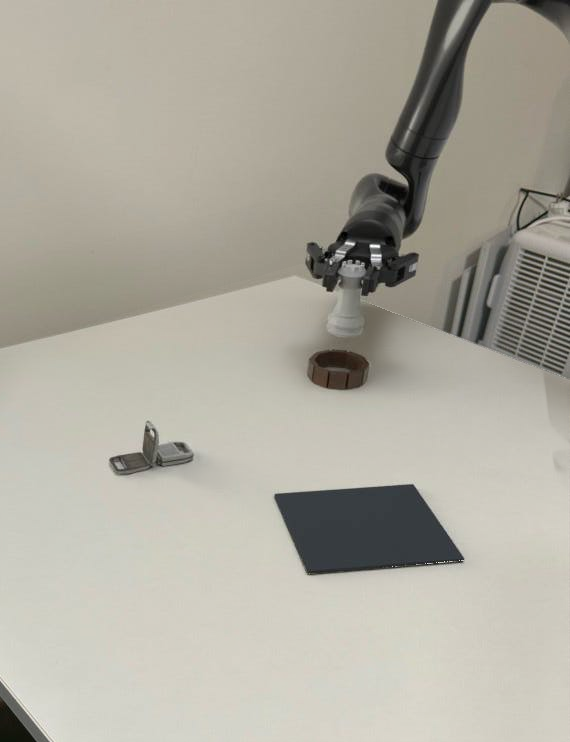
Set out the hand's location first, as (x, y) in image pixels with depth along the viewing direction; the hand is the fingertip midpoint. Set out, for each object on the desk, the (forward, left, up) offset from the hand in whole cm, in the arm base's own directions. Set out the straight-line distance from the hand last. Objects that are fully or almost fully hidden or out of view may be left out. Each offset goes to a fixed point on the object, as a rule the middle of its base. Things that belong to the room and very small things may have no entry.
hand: (347, 285), depth 92 cm
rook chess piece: (-1, -3, -7) cm, 7 cm away
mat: (+6, +28, -12) cm, 31 cm away
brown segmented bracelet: (-1, -3, -12) cm, 13 cm away
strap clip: (+24, +14, -12) cm, 30 cm away
